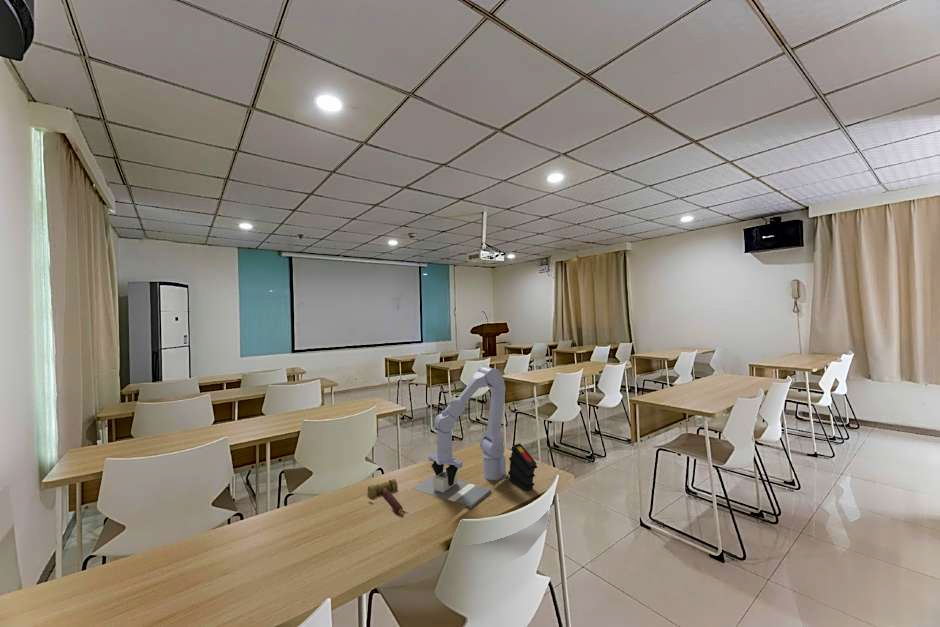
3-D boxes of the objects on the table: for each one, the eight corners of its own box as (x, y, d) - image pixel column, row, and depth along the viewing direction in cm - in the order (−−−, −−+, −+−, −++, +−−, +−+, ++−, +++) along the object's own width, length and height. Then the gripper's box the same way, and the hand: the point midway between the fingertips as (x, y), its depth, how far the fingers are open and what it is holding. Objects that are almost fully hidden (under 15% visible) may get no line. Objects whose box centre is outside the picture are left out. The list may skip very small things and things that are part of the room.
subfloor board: (435, 476, 155) (435, 474, 155) (491, 492, 140) (491, 489, 140) (412, 491, 143) (411, 488, 143) (469, 509, 129) (469, 506, 129)
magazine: (511, 471, 154) (520, 442, 148) (530, 497, 143) (541, 467, 138) (503, 473, 152) (512, 444, 146) (522, 500, 142) (533, 470, 136)
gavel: (416, 502, 128) (388, 512, 123) (416, 516, 129) (388, 525, 123) (393, 476, 146) (367, 483, 141) (393, 488, 146) (367, 495, 141)
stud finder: (448, 480, 148) (447, 468, 148) (457, 482, 146) (457, 470, 146) (433, 489, 141) (433, 477, 141) (443, 492, 138) (442, 479, 138)
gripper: (422, 447, 144) (423, 483, 144) (453, 454, 136) (455, 492, 136) (434, 441, 150) (435, 476, 150) (465, 447, 141) (466, 484, 142)
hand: (445, 483), depth 143 cm, fingers closed on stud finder, 4 cm apart
